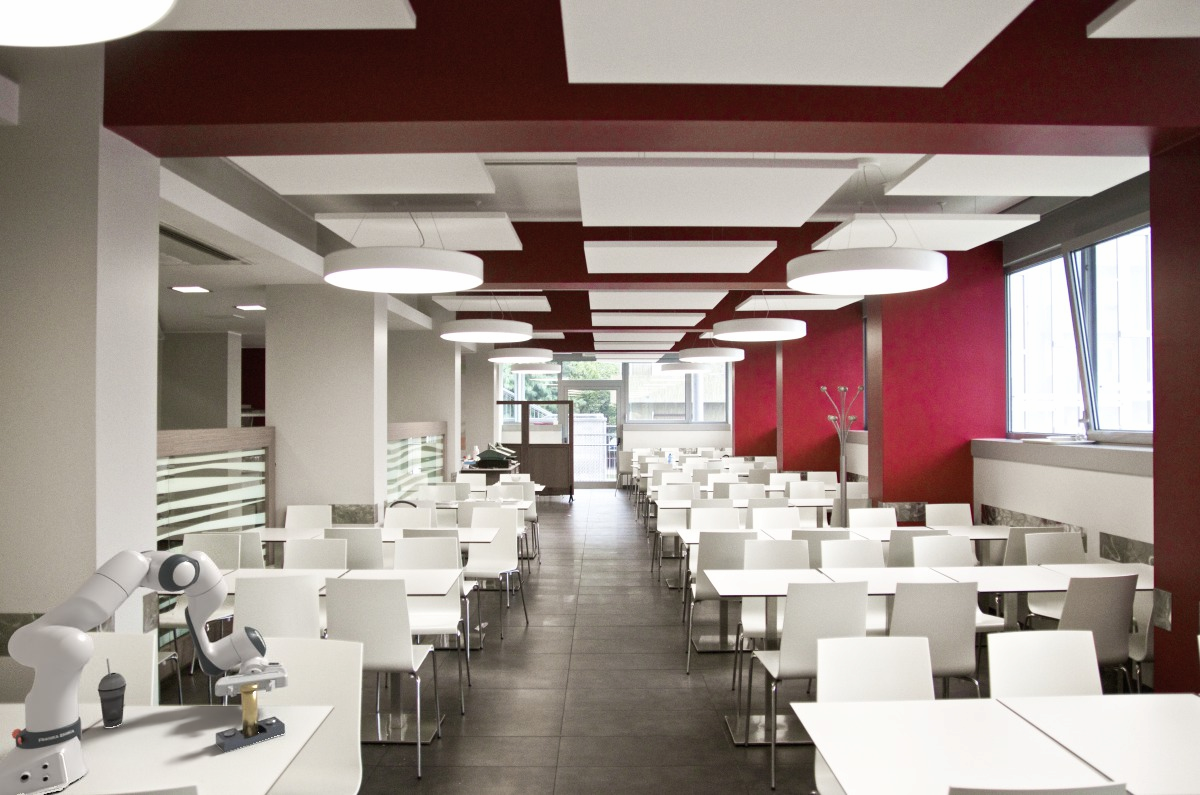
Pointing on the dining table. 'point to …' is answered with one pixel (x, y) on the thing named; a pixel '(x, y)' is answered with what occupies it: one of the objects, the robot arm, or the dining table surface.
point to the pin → (249, 709)
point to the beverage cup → (112, 698)
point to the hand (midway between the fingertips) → (251, 691)
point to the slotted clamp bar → (236, 739)
